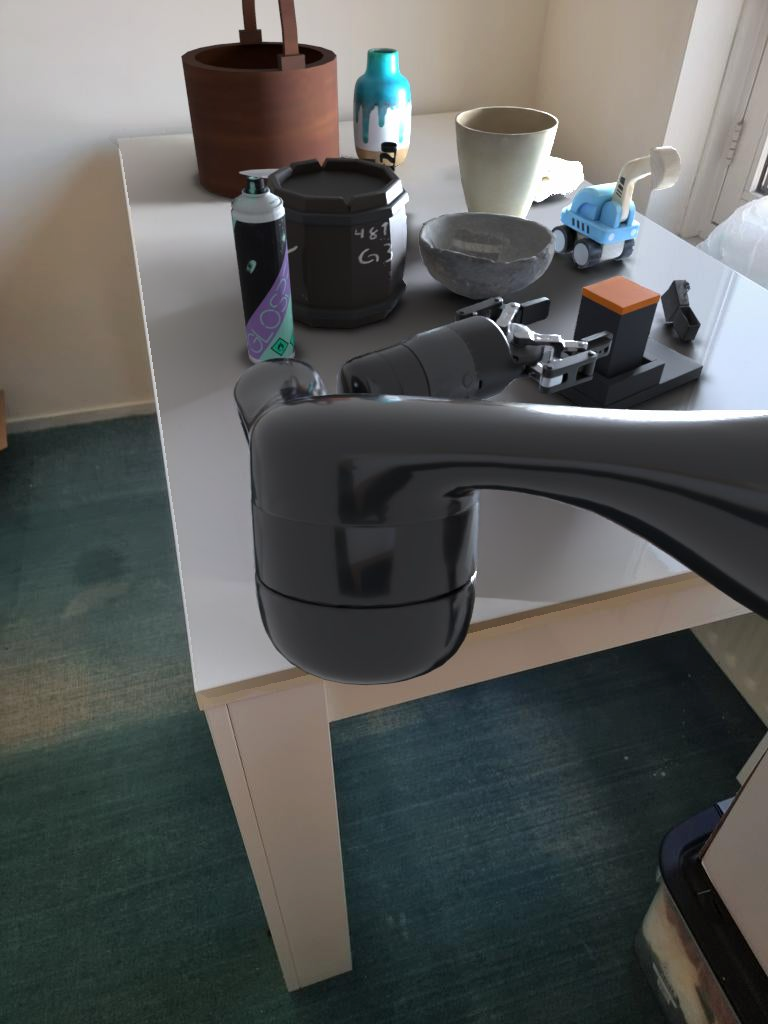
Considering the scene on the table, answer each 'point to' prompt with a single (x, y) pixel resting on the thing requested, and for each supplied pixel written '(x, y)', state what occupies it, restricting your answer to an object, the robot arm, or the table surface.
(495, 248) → the bowl
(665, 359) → the dark square socket base
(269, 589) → the robot arm
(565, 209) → the toy excavator
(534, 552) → the table surface
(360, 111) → the vase
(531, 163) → the plant pot
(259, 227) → the spray can
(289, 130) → the bucket
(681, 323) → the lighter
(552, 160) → the stone
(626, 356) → the black and orange block
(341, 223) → the barrel
